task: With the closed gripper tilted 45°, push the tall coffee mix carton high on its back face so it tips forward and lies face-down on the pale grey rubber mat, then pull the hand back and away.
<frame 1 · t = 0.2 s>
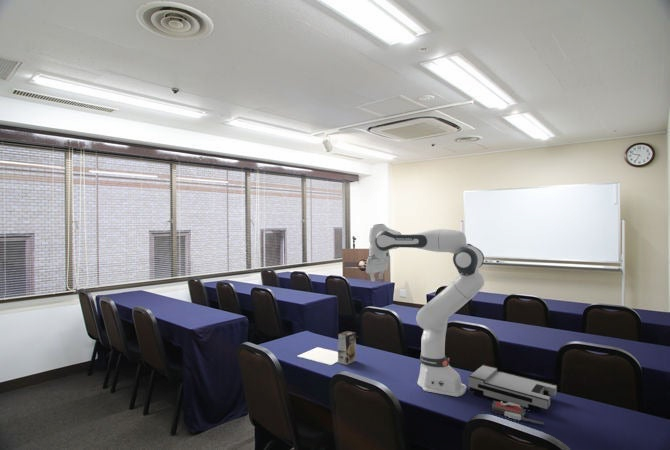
hand: (376, 280, 198), 48 cm above the table, tool pointing down, fingers open, 8 cm apart
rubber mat: (323, 356, 217), on the table
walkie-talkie: (515, 417, 150), on the table
coffee box: (346, 362, 208), on the table
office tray: (512, 398, 167), on the table
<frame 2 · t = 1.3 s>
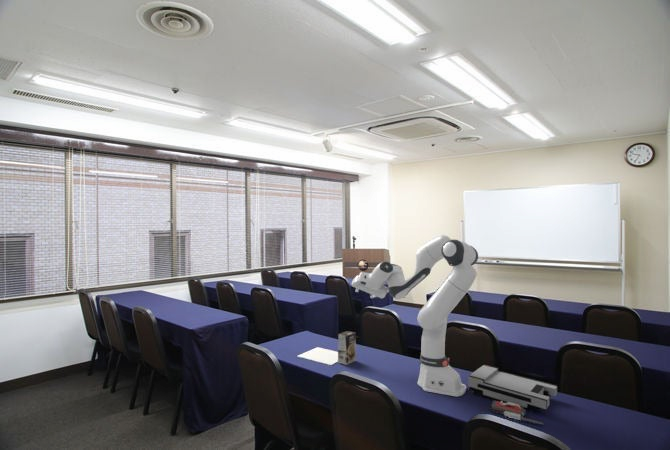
hand: (363, 294, 214), 37 cm above the table, tool tilted 50°, fingers open, 8 cm apart
nothing on the table moved.
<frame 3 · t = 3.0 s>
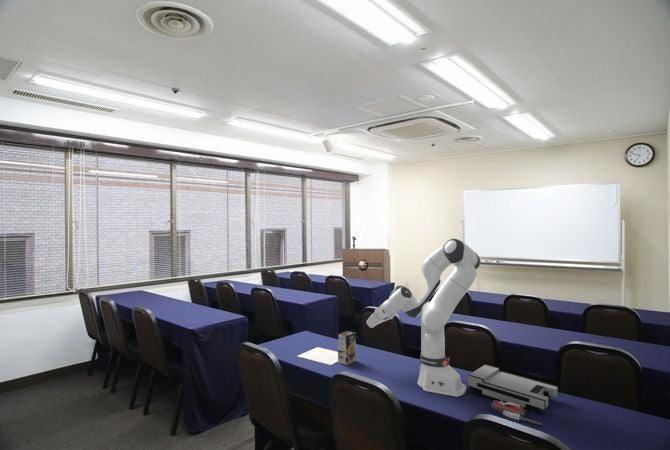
hand: (371, 326, 201), 22 cm above the table, tool tilted 45°, fingers closed
nothing on the table moved.
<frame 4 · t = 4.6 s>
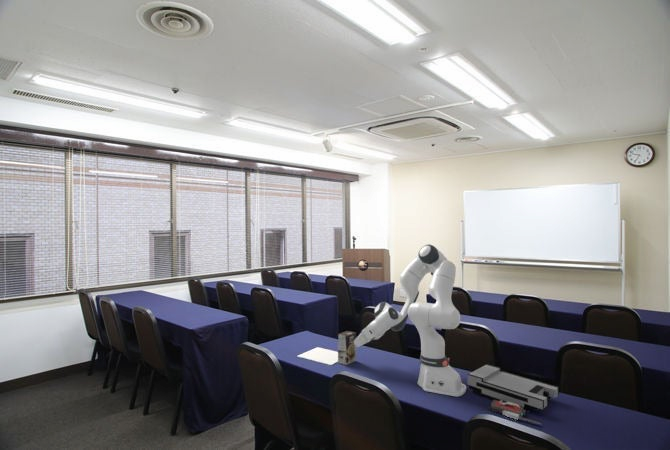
hand: (358, 345, 204), 10 cm above the table, tool tilted 45°, fingers closed
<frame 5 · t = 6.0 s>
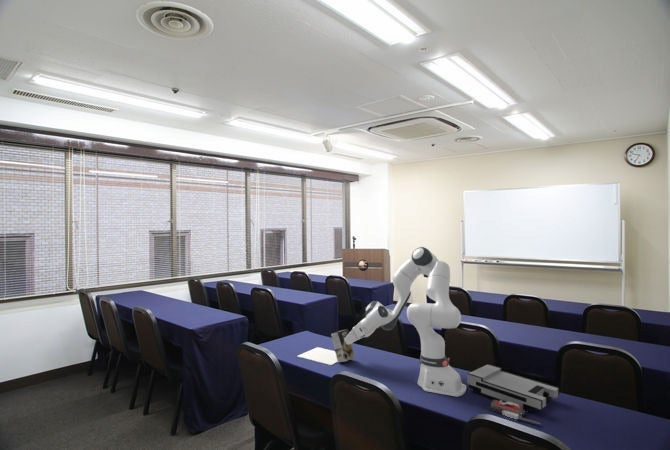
hand: (349, 343, 208), 11 cm above the table, tool tilted 45°, fingers closed
coffee box: (346, 360, 208), point 1 cm above the table
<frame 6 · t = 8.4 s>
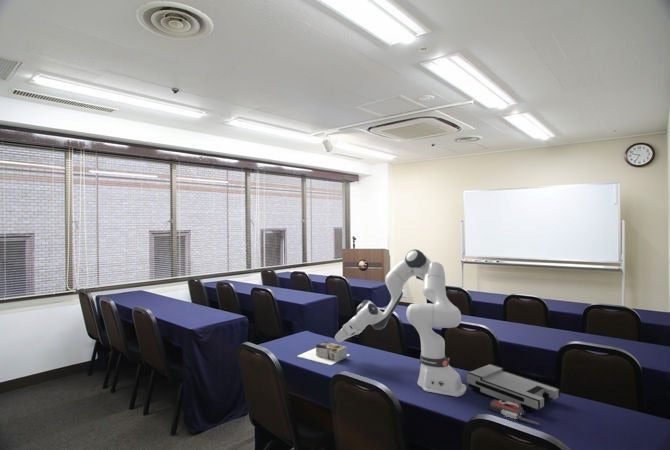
hand: (340, 340, 210), 11 cm above the table, tool tilted 45°, fingers closed
coffee box: (342, 354, 210), point 4 cm above the table, touching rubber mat
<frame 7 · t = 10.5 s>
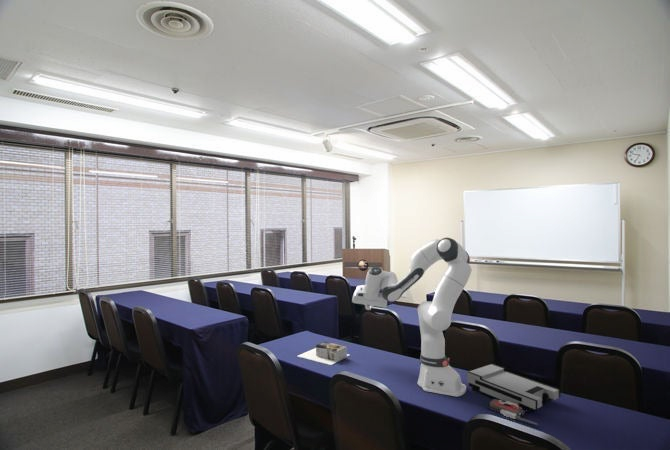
hand: (368, 309, 217), 28 cm above the table, tool tilted 35°, fingers closed
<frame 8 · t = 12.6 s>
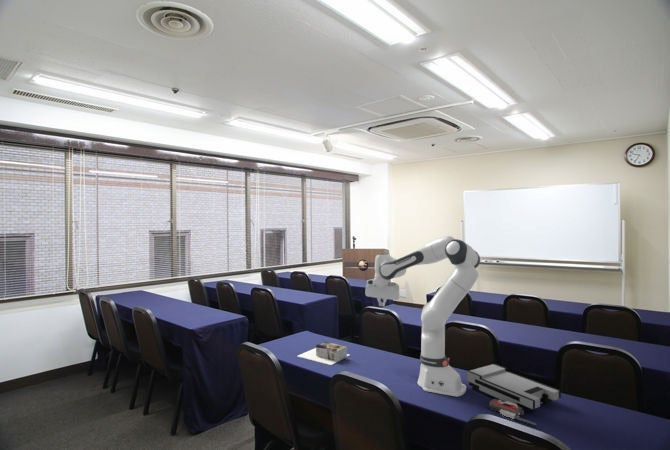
hand: (381, 306, 211), 31 cm above the table, tool pointing down, fingers closed
at the end: coffee box tilted 90°; coffee box inside the target area (2.2 cm from its centre), point 3.6 cm above the table; coffee box touching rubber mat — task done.
